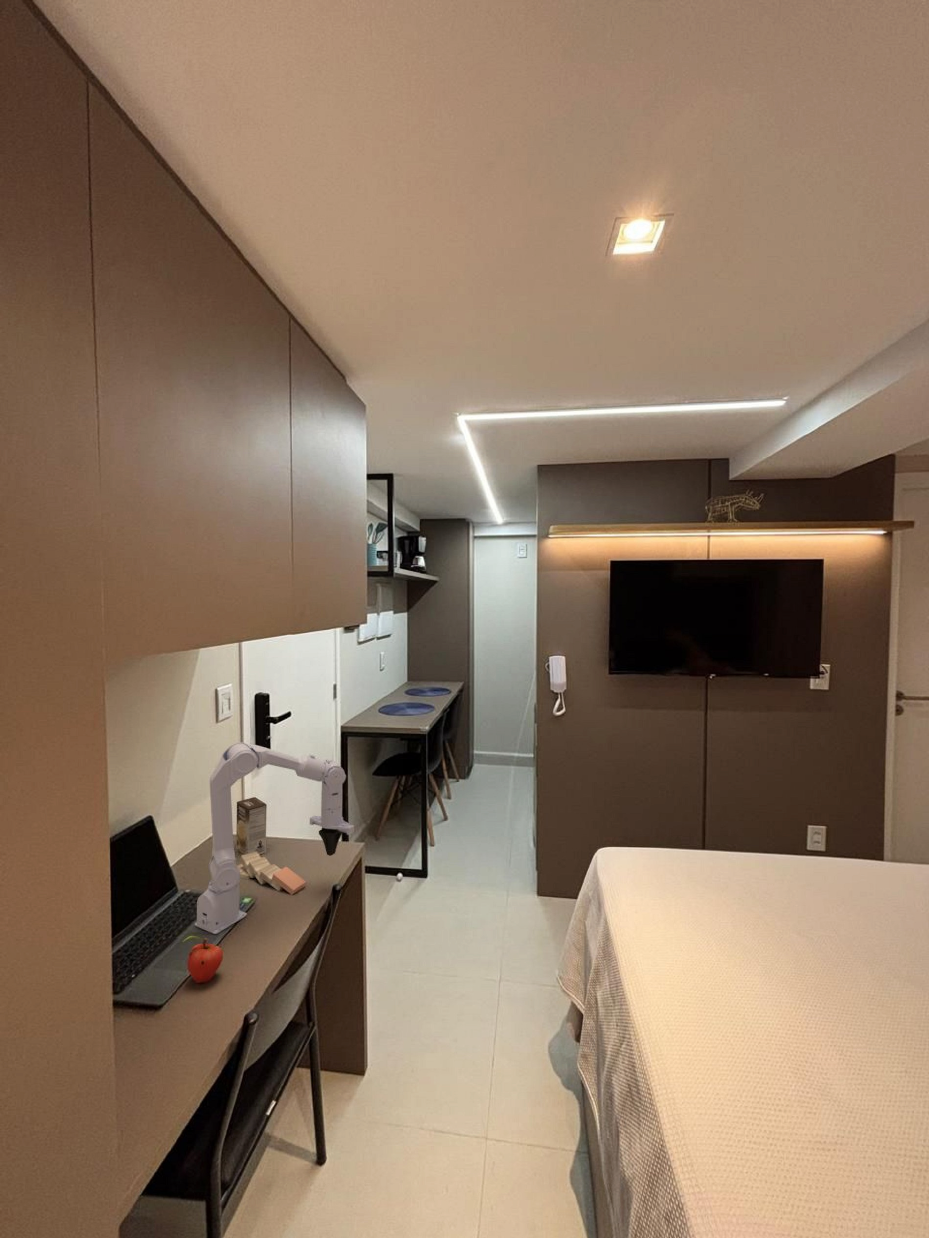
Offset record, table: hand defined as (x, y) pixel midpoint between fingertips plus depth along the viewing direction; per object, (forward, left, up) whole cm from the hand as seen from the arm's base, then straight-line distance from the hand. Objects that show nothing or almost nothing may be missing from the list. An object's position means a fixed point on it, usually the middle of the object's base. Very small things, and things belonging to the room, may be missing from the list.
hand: (331, 853), depth 151 cm
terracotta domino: (-5, +8, -10) cm, 13 cm away
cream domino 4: (-5, +12, -10) cm, 16 cm away
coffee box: (+6, +39, -11) cm, 41 cm away
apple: (-41, -1, -11) cm, 42 cm away
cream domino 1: (-4, +23, -9) cm, 25 cm away
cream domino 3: (-5, +18, -10) cm, 21 cm away
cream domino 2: (-5, +25, -10) cm, 28 cm away
